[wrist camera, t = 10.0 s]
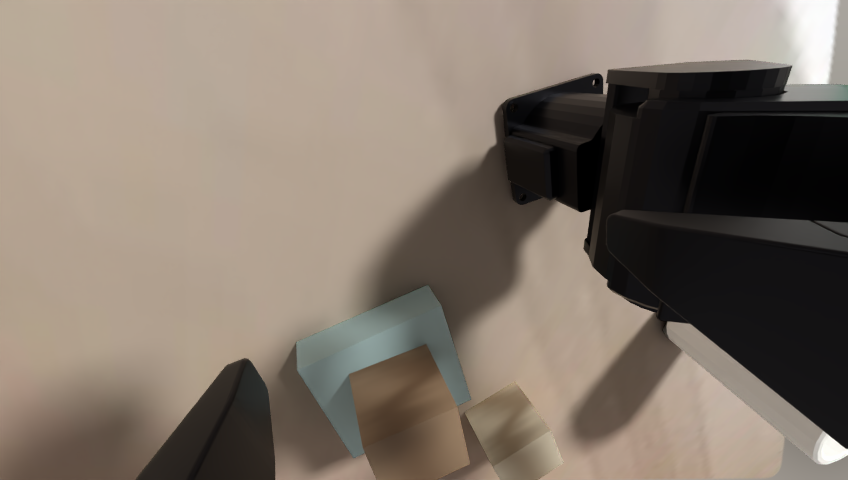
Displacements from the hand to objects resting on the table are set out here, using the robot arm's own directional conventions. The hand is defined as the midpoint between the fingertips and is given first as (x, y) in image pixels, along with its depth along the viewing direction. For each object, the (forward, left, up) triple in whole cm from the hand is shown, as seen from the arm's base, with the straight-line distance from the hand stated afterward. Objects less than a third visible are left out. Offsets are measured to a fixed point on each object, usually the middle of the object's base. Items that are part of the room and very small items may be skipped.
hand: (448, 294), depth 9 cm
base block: (+2, +14, -14) cm, 19 cm away
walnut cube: (+2, +14, -10) cm, 17 cm away
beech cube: (-5, +24, -13) cm, 28 cm away
